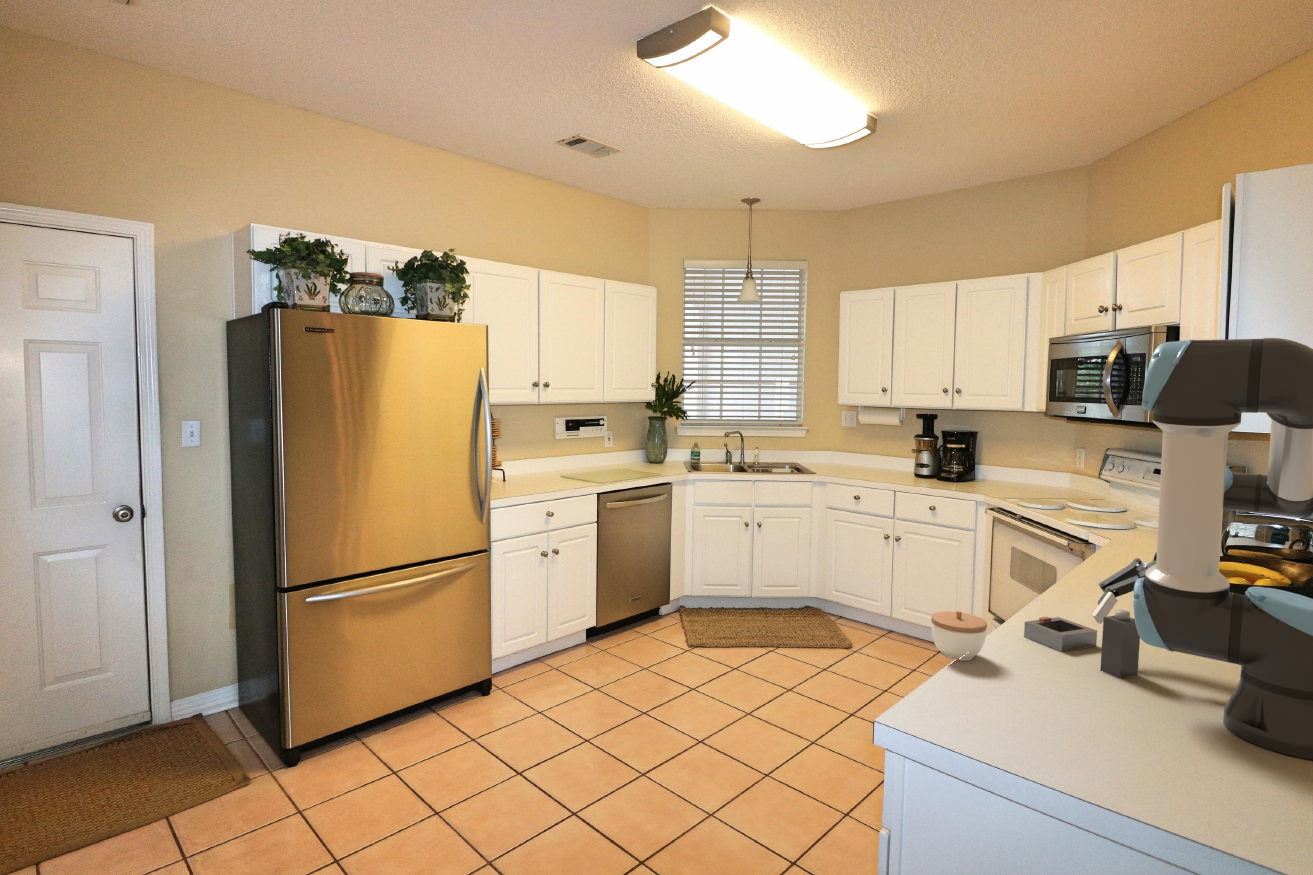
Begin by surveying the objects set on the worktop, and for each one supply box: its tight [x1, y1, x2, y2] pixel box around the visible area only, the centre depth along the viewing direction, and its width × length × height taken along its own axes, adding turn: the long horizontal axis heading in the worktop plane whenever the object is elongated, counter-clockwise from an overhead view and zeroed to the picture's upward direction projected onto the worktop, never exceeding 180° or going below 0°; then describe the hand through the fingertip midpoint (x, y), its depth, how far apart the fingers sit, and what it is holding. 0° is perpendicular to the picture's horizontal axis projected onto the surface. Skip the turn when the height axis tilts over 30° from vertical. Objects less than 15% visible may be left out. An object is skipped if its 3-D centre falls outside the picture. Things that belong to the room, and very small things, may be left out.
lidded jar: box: [930, 610, 988, 661], centre depth 145 cm, size 11×11×9 cm
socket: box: [1023, 616, 1098, 652], centre depth 154 cm, size 10×10×4 cm
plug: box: [1100, 609, 1141, 679], centre depth 137 cm, size 4×5×12 cm
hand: (1128, 630), depth 138 cm, fingers open, 13 cm apart
